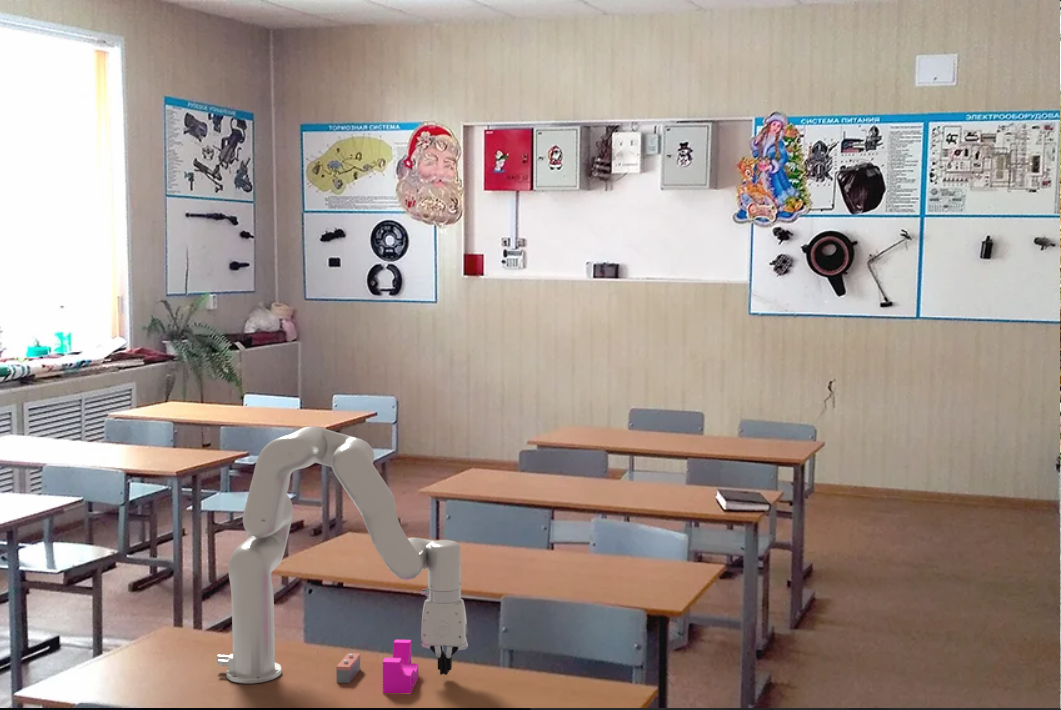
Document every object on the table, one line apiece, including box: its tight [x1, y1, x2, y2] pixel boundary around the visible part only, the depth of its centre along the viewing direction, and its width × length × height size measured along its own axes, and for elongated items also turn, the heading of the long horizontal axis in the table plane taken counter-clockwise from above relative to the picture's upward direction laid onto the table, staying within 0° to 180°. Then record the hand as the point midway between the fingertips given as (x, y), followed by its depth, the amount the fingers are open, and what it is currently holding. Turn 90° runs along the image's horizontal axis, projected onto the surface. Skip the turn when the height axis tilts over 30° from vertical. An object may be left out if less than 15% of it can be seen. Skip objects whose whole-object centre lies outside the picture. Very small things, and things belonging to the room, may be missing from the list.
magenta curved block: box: [382, 639, 419, 694], centre depth 267 cm, size 15×6×8 cm, turn 176°
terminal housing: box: [335, 652, 361, 684], centre depth 270 cm, size 3×9×4 cm, turn 172°
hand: (444, 672), depth 268 cm, fingers closed
